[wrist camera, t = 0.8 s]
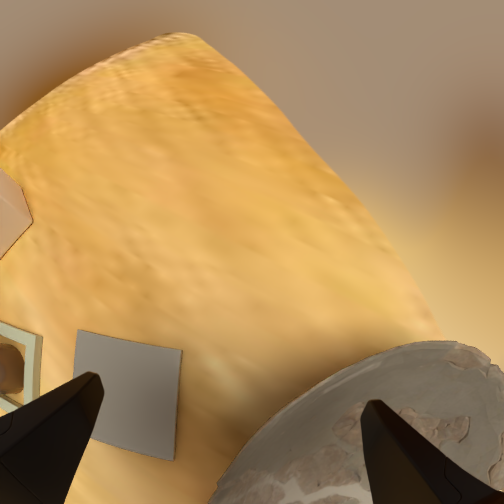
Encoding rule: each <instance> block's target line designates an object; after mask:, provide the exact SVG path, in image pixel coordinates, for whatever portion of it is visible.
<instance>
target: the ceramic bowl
mask: <svg viewBox="0 0 504 504" xmlns="http://www.w3.org/2000/svg"><path fill="white" fill-rule="evenodd" d="M490 361H491V359H490V358H489V357H488V356H486V355H485V354H484V353H483V352H481V351H480V350H479V349H477V348H475V347H472V346H467V345H465V344H461V343H458V342H457V341H423V342H414V343H410V344H406V345H402V346H398V347H394V348H392V349H389V350H386V351H384V352H381V353H378V354H375V355H372V356H370V357H367V358H365V359H363V360H361V361H359V362H357V363H355V364H352V365H350V366H348V367H346V368H344V369H342V370H340V371H338V372H337V373H335V374H333V375H331V376H330V377H328V378H326V379H324V380H323V381H321V382H319V383H317V384H316V385H315V386H313V387H312V388H310V389H309V390H307V391H306V392H304V393H303V394H301V395H300V396H298V397H297V398H295V399H294V400H292V401H291V402H289V403H288V404H287V405H285V406H284V407H283V408H282V409H280V410H279V411H278V412H277V413H275V414H274V415H273V416H272V417H271V418H270V419H269V420H268V421H267V422H266V423H265V424H264V425H263V426H261V427H260V428H259V429H258V430H257V431H256V432H255V434H254V435H253V436H252V437H251V438H250V439H249V441H248V442H247V443H246V444H245V445H244V446H243V448H242V449H241V450H240V452H239V453H238V455H237V456H236V457H235V459H234V460H233V462H232V463H231V465H230V466H229V467H228V469H227V470H226V472H225V473H224V474H223V476H222V477H221V478H220V479H219V481H218V482H217V485H218V488H217V490H216V491H215V492H214V494H213V495H212V497H211V498H210V499H209V502H208V504H373V501H372V496H371V490H370V485H369V480H368V475H367V470H366V466H365V461H364V454H363V443H362V433H361V424H360V417H361V414H362V412H363V410H364V408H365V406H366V404H367V402H368V401H369V400H371V399H381V400H382V401H383V402H384V403H386V404H387V405H388V406H389V407H390V408H391V409H392V410H394V411H395V412H396V413H397V414H398V415H399V416H400V417H402V418H403V419H404V420H405V421H406V422H407V423H409V424H410V425H411V426H412V427H413V428H414V429H415V430H417V431H418V432H419V433H420V434H421V435H422V436H424V437H425V438H426V439H427V440H428V441H429V442H431V443H432V444H433V445H434V446H435V447H437V448H438V449H439V450H440V451H441V452H443V453H444V454H445V455H446V456H447V457H449V458H450V459H451V460H452V461H453V462H455V463H456V464H457V465H458V466H460V467H461V468H462V469H464V470H465V471H467V472H468V473H470V474H471V475H473V476H474V477H476V478H477V479H479V480H480V481H482V482H484V483H485V484H487V485H489V486H490V487H492V488H494V489H495V490H498V491H499V490H502V489H503V488H504V373H503V372H502V371H501V370H500V368H499V366H498V365H494V364H490ZM500 492H502V491H500Z"/></svg>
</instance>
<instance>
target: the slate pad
mask: <svg viewBox="0 0 504 504" xmlns="http://www.w3.org/2000/svg"><path fill="white" fill-rule="evenodd" d="M181 359H182V350H179V349H172V348H166V347H160V346H154V345H148V344H143V343H137V342H132V341H127V340H122V339H117V338H113V337H108V336H103V335H99V334H95V333H91V332H86V331H82V330H78V331H77V339H76V348H75V359H74V372H73V379H74V378H76V377H78V376H80V375H81V374H83V373H85V372H87V371H91V372H94V373H97V374H99V375H100V378H101V381H102V384H103V387H104V392H105V394H104V398H103V401H102V404H101V407H100V411H99V414H98V417H97V420H96V423H95V427H94V430H93V432H92V435H91V437H90V438H92V439H95V440H97V441H100V442H103V443H106V444H109V445H112V446H115V447H119V448H122V449H125V450H129V451H132V452H136V453H140V454H143V455H147V456H151V457H156V458H160V459H164V460H169V461H174V460H175V439H176V421H177V406H178V393H179V381H180V369H181Z"/></svg>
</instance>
